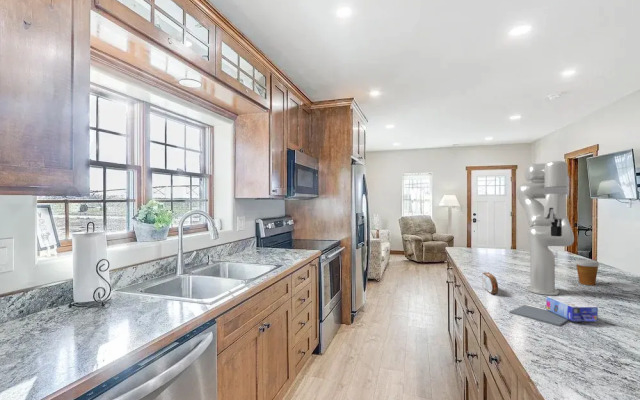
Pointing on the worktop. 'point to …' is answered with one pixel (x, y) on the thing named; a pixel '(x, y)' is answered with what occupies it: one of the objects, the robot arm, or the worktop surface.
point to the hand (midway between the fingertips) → (556, 236)
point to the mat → (539, 314)
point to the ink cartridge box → (572, 308)
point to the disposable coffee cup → (587, 271)
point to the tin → (490, 283)
